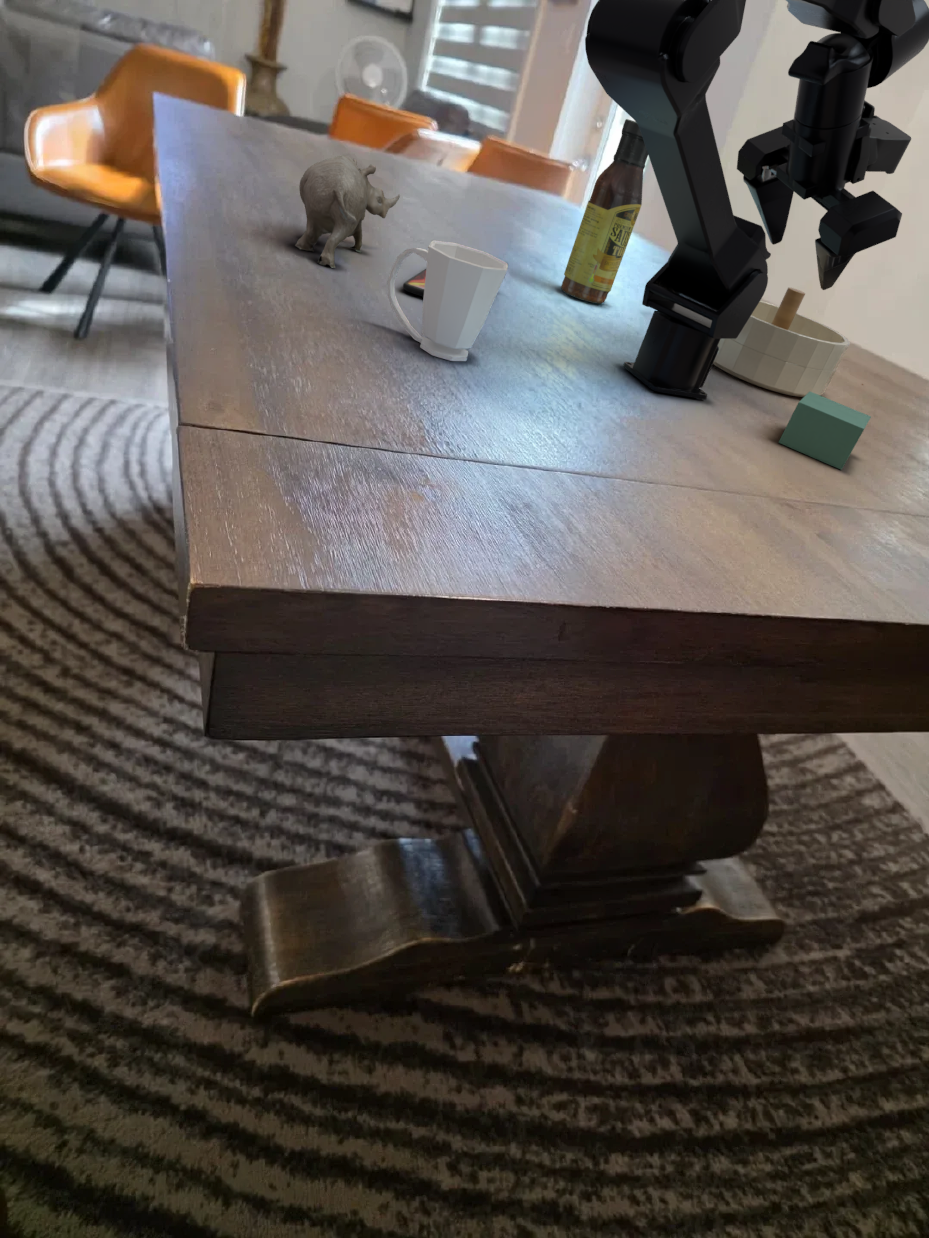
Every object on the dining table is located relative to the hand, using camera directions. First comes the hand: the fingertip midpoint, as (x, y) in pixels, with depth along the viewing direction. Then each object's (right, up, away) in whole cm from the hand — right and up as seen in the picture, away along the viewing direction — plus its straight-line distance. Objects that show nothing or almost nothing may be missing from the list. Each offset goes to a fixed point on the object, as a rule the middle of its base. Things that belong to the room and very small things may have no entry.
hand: (800, 264), depth 90 cm
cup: (-38, -14, -16) cm, 44 cm away
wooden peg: (-1, -8, +10) cm, 13 cm away
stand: (-3, -21, -10) cm, 24 cm away
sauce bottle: (-20, +3, +19) cm, 28 cm away
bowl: (-1, -9, +10) cm, 13 cm away
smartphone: (-37, -2, +2) cm, 37 cm away
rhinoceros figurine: (-50, +3, +3) cm, 50 cm away
